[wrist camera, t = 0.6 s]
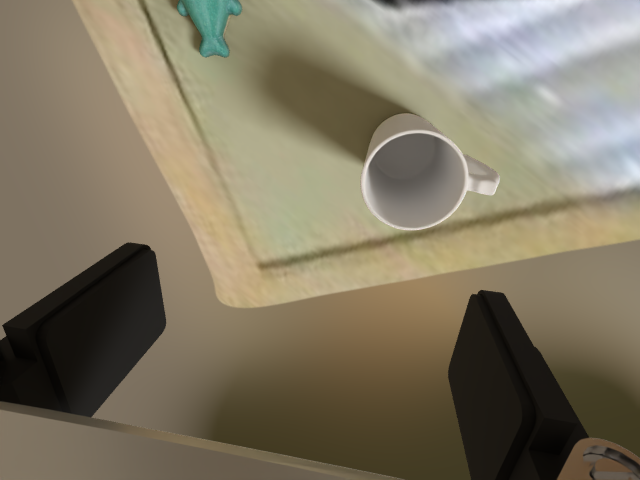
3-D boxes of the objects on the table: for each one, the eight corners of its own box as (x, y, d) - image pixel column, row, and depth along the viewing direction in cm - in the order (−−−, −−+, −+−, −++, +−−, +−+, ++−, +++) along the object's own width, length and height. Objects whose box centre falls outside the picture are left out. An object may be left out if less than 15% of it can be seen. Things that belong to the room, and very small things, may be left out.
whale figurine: (244, -40, 29) (227, -55, 26) (249, 59, 32) (234, 58, 29) (179, -40, 30) (153, -54, 26) (190, 57, 33) (168, 55, 30)
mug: (362, 176, 35) (353, 222, 25) (372, 106, 32) (369, 122, 22) (464, 190, 34) (502, 244, 24) (485, 119, 31) (539, 143, 21)
